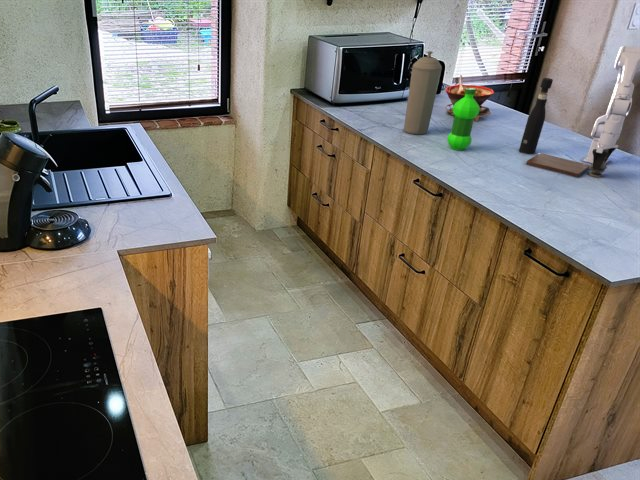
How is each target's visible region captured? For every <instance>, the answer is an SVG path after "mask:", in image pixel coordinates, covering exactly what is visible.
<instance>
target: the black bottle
mask: <svg viewBox="0 0 640 480" xmlns="http://www.w3.org/2000/svg"><path fill="white" fill-rule="evenodd" d="M553 81H554V79H553V78H549V77H544V78H542V79H541V83H540V86H539V87H540V88H541V89H540V92H539V94H538V96H537V97H536V101H535V105H534V106H533V107H532V109H531V111H530V112H529V115H528V117H527V120H526V123H525V127H524V131H523V134H522V138H521V141H520V145H519V148H518V151H519V152H520V153H522V154H524V155H534V154H535V153H536V151H537V147H538V143H539V140H540V137H541V133H542V130H543V127H544V124H545V120H546V105H547V101H548V92H549V90H550V89H551V88H552V85H553Z"/></svg>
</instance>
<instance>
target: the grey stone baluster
mask: <svg viewBox="0 0 640 480" xmlns="http://www.w3.org/2000/svg"><path fill="white" fill-rule="evenodd" d="M608 150H609V149H605V152H606V153H608ZM606 158H607V157H606ZM606 158H605V159H606ZM605 159H604V161H603V163H602V165H601V166H600V168H599V169H594V168H593V163H590V164H589V165H590V168H589V170H590V171H589V172H587V175H588V176H590V177H593V178H602V177H603V176H604V175H603V173H604V172H605V171H606V170H607V166H606V165H604V162H605Z"/></svg>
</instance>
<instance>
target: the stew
mask: <svg viewBox="0 0 640 480" xmlns="http://www.w3.org/2000/svg"><path fill="white" fill-rule="evenodd" d="M458 81H459V84H453V85H449V86H447V87H445V89H444V90H445V92H446V94H447V96H448V99H449V100H450V102H451V103H449V104H446V105H445V107H444V108H445V110H447V115H450V116H451V117H453V118H454V117H455V115H454V113H453V106H454V104H455V103H456V102H458V101H459V100H460V99H462V98H464V97H465V93H464V92H465V88H475V89H476V92H475V94H474V95H473V99H474V100H475V101H476V102H477V104H478V105H479V108H480V110H479V113H478V116H476V117H475V118H474V122H479V119H480V118H483V117H488V116H490V115H491V114H492V111H491V110H490V108H489V107H488V106H483V104H484V103H485V102H487V100H488V99H489V98H491V96H493V95H494V94H495V90H494V89H492V88H489V87H486V86H482V85H475V84H463V75H461V74H460V75H459V79H458ZM451 106H452V108H451ZM447 107H449V109H448V108H447Z"/></svg>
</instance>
